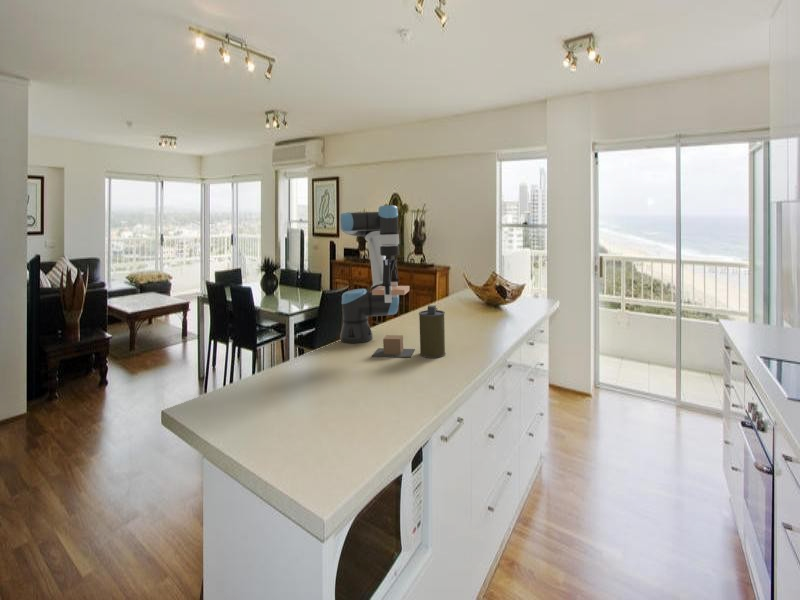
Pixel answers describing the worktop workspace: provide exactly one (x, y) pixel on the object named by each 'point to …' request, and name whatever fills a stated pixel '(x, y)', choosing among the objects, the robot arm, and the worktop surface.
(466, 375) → the worktop surface
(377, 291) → the lid
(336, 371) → the worktop surface
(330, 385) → the worktop surface
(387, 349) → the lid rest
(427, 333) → the canister
